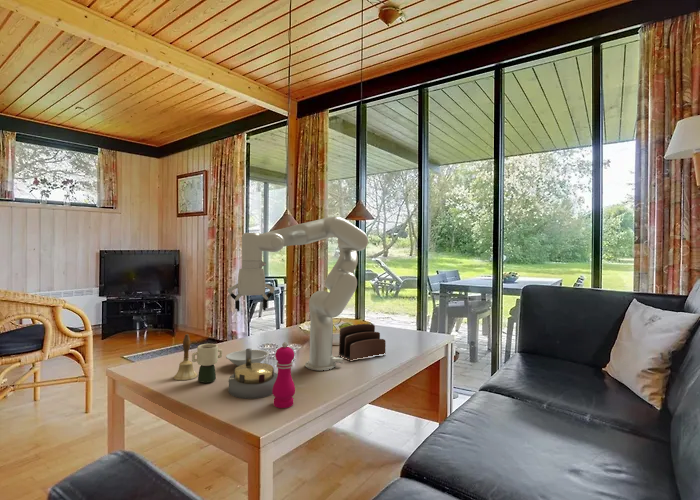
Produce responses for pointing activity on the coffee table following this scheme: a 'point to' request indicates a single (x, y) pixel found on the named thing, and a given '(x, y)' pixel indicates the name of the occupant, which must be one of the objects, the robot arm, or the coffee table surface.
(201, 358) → the character mug
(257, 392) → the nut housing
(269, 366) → the ring nut
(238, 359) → the dish
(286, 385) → the pepper mill
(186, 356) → the hand bell
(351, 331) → the letter holder
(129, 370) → the coffee table surface
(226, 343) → the coffee table surface
